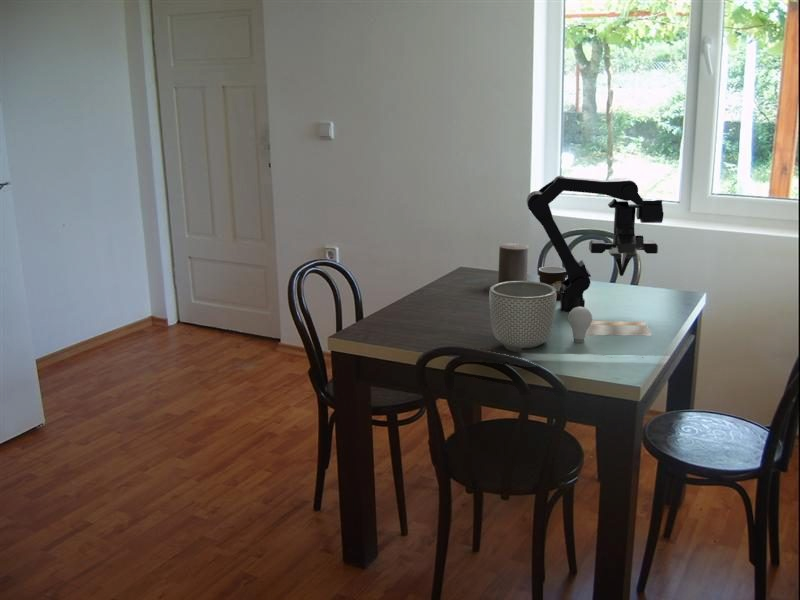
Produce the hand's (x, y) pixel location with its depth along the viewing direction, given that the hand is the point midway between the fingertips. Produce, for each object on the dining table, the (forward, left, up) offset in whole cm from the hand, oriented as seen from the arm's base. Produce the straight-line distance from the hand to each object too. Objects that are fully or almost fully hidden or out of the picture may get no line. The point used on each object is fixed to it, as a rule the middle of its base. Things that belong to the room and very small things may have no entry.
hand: (621, 275), depth 240 cm
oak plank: (-5, -10, -12) cm, 17 cm away
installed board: (-5, -20, -12) cm, 23 cm away
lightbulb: (-15, -30, -12) cm, 36 cm away
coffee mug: (-17, +15, -12) cm, 26 cm away
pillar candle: (-30, +33, -12) cm, 46 cm away
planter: (-30, -31, -12) cm, 45 cm away
